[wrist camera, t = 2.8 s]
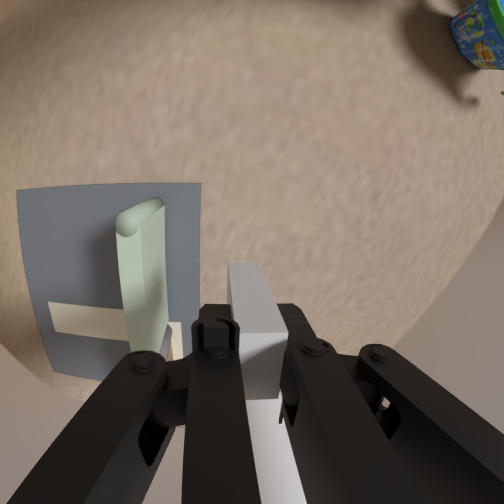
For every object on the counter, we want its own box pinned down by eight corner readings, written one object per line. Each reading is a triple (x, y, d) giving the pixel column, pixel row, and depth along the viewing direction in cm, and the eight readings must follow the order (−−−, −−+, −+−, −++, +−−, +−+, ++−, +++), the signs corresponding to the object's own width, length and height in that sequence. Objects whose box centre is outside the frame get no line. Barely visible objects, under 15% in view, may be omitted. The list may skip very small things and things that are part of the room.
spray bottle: (205, 391, 29) (210, 615, 5) (217, 345, 27) (233, 622, 3) (263, 399, 30) (308, 606, 6) (282, 355, 28) (360, 598, 4)
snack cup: (502, 106, 22) (559, 105, 12) (456, 92, 21) (524, 83, 12) (474, 7, 17) (520, -9, 8) (422, -17, 17) (470, -47, 7)
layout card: (19, 190, 20) (15, 190, 20) (201, 183, 22) (200, 183, 22) (55, 369, 26) (53, 372, 26) (202, 387, 28) (202, 391, 28)
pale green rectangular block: (143, 196, 21) (109, 211, 14) (167, 196, 21) (143, 211, 14) (152, 339, 25) (135, 391, 18) (173, 340, 25) (161, 394, 18)
